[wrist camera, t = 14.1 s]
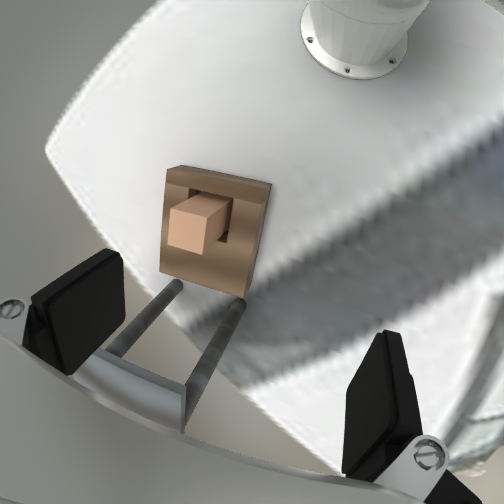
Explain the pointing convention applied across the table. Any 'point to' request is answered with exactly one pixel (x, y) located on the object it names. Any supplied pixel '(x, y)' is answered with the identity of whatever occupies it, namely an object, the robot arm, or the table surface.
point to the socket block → (187, 268)
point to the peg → (199, 221)
